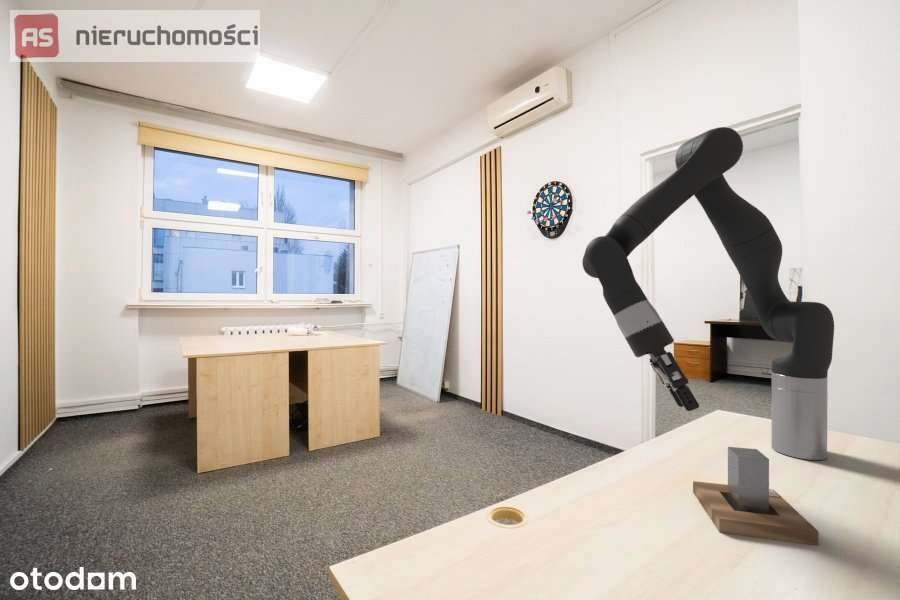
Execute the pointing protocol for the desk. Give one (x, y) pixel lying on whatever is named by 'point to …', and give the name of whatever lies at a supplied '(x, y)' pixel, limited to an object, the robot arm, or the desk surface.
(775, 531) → the socket board
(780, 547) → the desk surface
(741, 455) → the peg
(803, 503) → the desk surface
